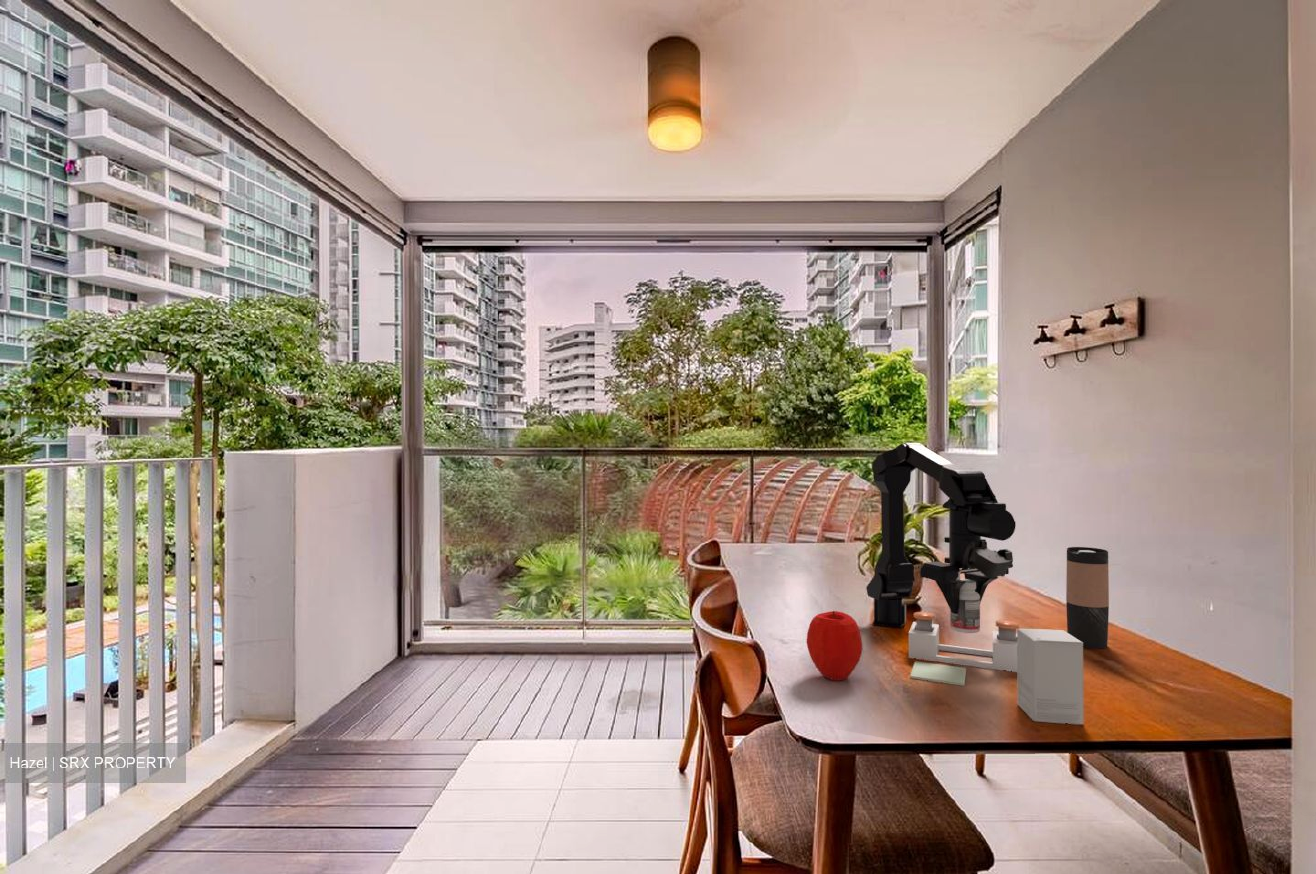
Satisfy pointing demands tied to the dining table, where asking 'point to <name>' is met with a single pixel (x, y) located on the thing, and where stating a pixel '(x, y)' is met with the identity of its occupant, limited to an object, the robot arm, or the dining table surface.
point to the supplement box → (1050, 675)
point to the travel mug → (1088, 596)
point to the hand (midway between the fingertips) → (964, 612)
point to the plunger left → (924, 621)
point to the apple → (834, 644)
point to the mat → (938, 673)
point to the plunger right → (1007, 630)
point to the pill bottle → (967, 609)
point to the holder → (962, 650)
